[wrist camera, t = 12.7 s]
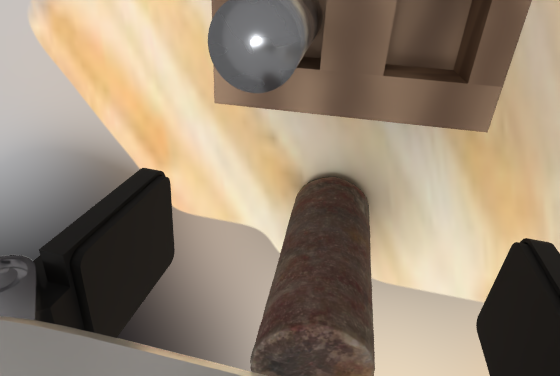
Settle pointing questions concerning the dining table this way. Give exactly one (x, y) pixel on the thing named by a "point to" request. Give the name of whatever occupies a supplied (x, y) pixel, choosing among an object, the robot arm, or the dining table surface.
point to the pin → (262, 40)
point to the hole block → (400, 62)
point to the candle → (321, 289)
